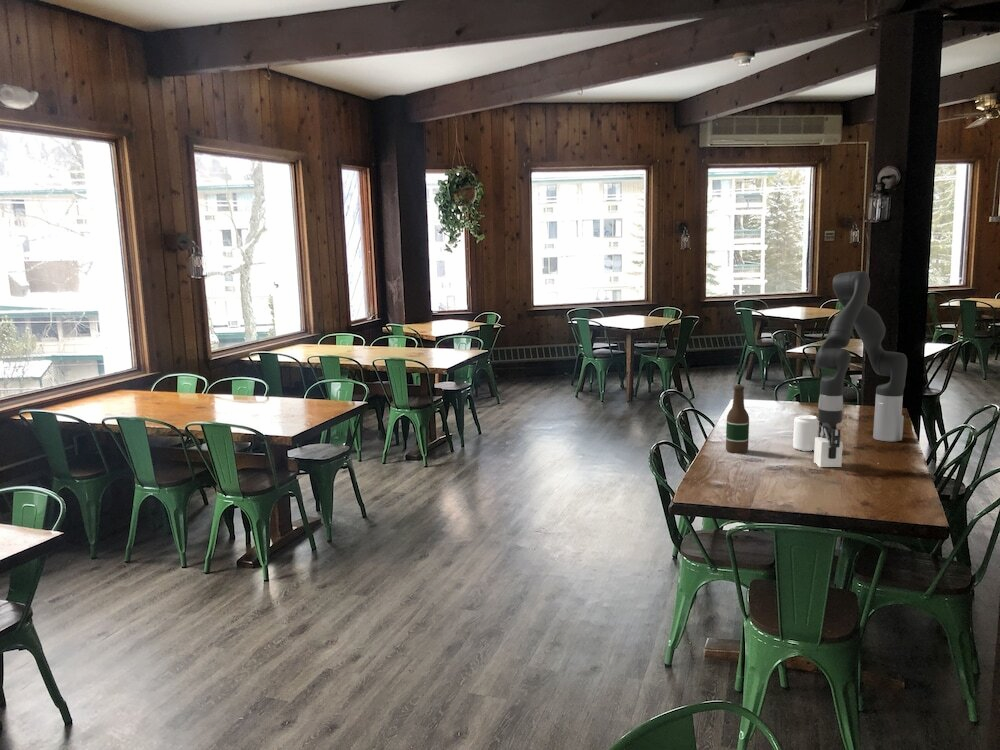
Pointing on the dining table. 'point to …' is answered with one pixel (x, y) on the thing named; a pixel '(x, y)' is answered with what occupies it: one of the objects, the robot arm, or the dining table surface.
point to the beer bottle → (737, 424)
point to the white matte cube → (826, 453)
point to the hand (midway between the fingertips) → (827, 455)
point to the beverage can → (805, 432)
